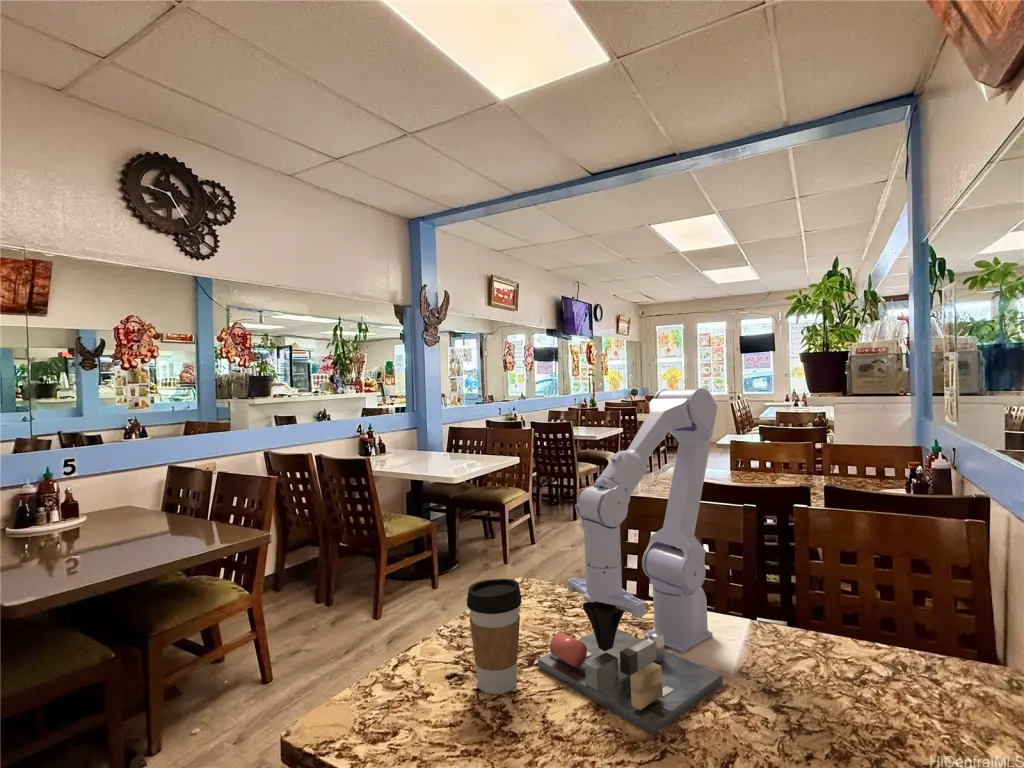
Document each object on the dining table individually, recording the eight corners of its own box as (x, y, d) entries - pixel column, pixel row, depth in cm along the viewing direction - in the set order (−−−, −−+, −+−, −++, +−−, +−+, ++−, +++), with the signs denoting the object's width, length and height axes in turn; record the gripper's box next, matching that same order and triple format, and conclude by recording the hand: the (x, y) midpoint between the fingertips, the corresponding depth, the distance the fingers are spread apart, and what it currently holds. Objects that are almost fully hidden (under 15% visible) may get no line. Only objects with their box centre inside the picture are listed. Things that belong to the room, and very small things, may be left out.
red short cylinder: (566, 651, 85) (565, 629, 85) (587, 662, 81) (586, 639, 81) (550, 659, 83) (549, 636, 83) (571, 670, 79) (570, 646, 79)
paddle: (654, 691, 73) (653, 662, 73) (662, 695, 72) (661, 666, 72) (631, 705, 70) (630, 675, 70) (640, 710, 69) (638, 679, 69)
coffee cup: (519, 702, 75) (515, 597, 75) (462, 697, 77) (459, 594, 77) (529, 670, 83) (525, 576, 83) (477, 667, 85) (474, 574, 85)
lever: (655, 651, 84) (654, 629, 84) (667, 657, 82) (667, 634, 82) (619, 671, 78) (618, 648, 78) (631, 678, 76) (631, 654, 76)
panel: (608, 634, 95) (607, 608, 95) (724, 685, 77) (722, 653, 77) (538, 668, 84) (537, 638, 84) (654, 736, 67) (652, 699, 67)
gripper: (553, 557, 87) (556, 639, 87) (622, 580, 76) (625, 675, 76) (583, 548, 91) (585, 626, 91) (652, 569, 80) (655, 658, 80)
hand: (605, 647), depth 84 cm, fingers closed
